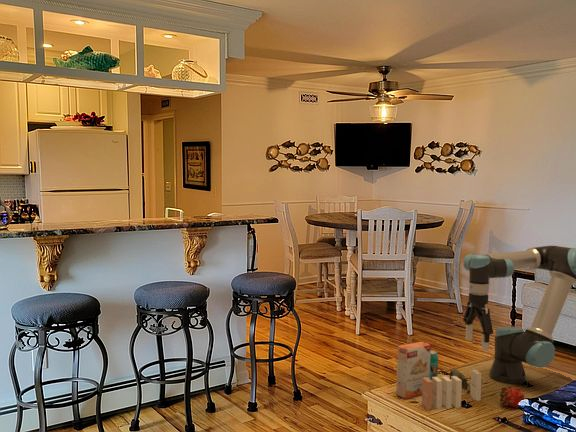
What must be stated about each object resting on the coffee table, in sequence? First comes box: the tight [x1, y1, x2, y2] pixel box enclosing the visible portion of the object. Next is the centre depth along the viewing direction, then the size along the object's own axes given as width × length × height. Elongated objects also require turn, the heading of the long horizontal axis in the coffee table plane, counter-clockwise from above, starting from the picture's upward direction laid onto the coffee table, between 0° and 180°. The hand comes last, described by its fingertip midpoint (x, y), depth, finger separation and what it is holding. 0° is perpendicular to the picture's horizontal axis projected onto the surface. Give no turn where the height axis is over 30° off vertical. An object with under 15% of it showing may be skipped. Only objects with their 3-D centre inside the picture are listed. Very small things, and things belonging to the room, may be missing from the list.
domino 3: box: [441, 375, 452, 409], centre depth 216 cm, size 2×5×11 cm, turn 9°
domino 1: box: [421, 377, 433, 411], centre depth 214 cm, size 2×5×11 cm, turn 8°
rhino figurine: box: [449, 368, 470, 389], centre depth 238 cm, size 4×14×6 cm, turn 13°
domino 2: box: [432, 376, 443, 410], centre depth 215 cm, size 2×5×11 cm, turn 9°
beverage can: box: [430, 349, 439, 381], centre depth 237 cm, size 6×6×15 cm
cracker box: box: [395, 341, 432, 400], centre depth 227 cm, size 14×6×21 cm, turn 123°
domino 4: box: [451, 376, 463, 409], centre depth 216 cm, size 2×5×11 cm, turn 9°
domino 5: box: [469, 369, 483, 401], centre depth 224 cm, size 2×5×11 cm, turn 8°
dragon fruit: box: [499, 386, 525, 409], centre depth 216 cm, size 8×8×12 cm
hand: (476, 344), depth 223 cm, fingers open, 13 cm apart
